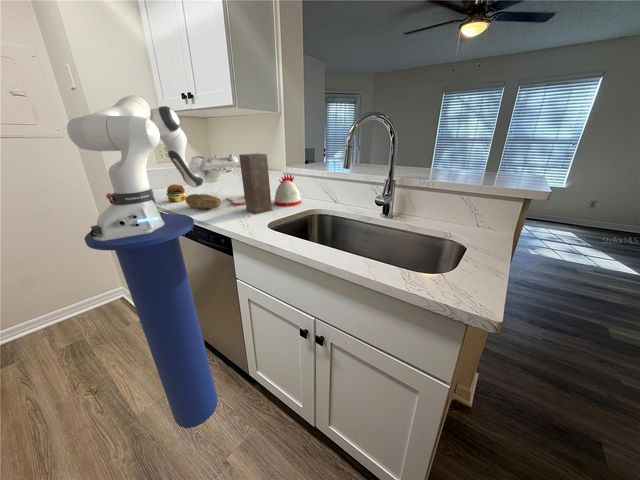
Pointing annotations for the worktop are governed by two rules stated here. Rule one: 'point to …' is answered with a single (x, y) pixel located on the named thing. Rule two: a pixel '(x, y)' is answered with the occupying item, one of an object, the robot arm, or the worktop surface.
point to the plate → (236, 201)
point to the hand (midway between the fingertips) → (223, 156)
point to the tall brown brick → (256, 182)
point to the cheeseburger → (176, 193)
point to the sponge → (203, 201)
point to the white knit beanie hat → (287, 193)
